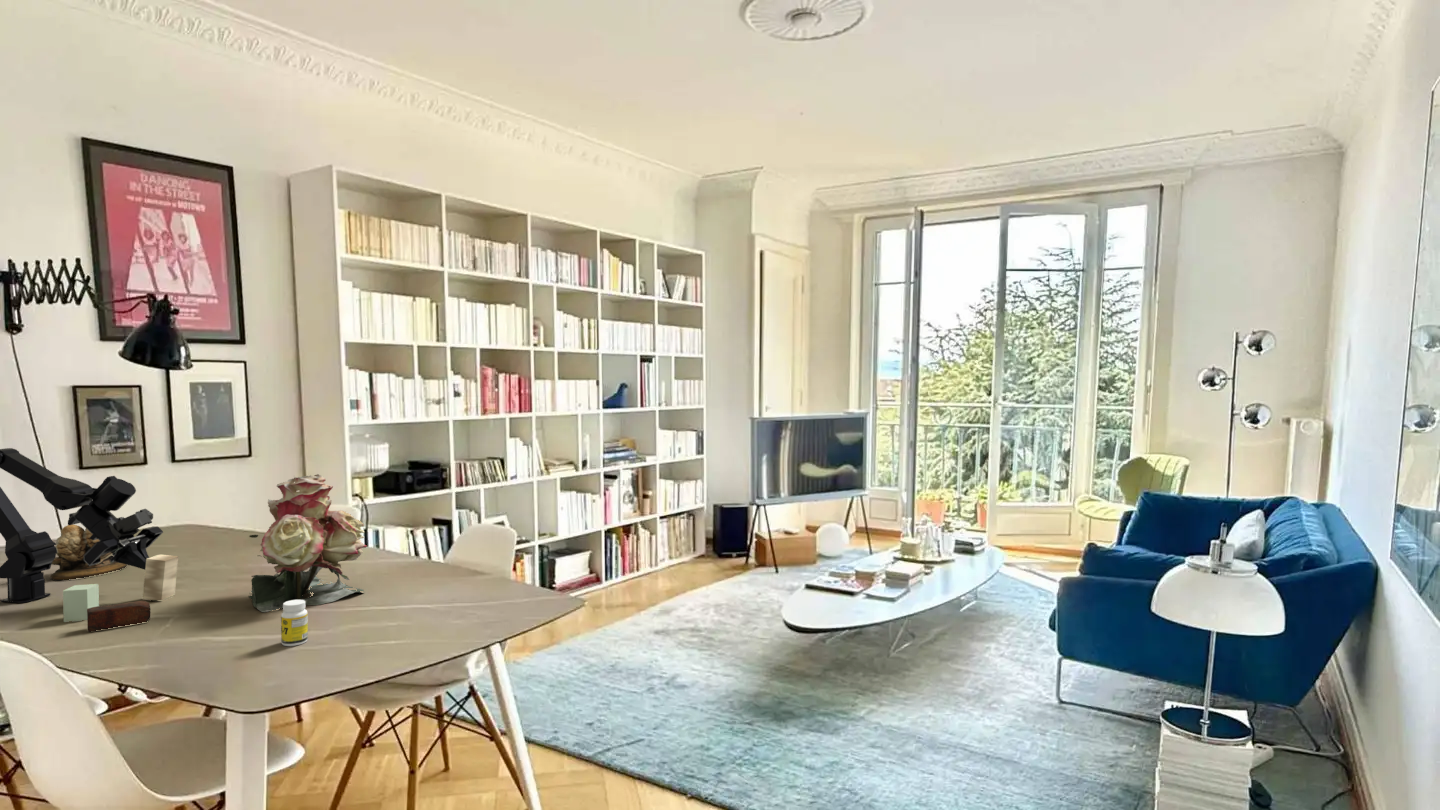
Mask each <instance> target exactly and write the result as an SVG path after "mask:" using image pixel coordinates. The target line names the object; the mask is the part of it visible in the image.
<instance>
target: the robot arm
mask: <svg viewBox="0 0 1440 810" xmlns="http://www.w3.org/2000/svg"><path fill="white" fill-rule="evenodd" d="M0 470H3V471H4V472H6V473H8V474H10V475H12V476H14V477H15V478H18V479H19V480H20V481H22V482H24V483H26V484H28V485H29V486H31V487H33V488H34V489H36V490H38V491H39V492H40V493H41V494H42V496H43V497H44V500H45V501H46V502H48V503H49V504H50V505H51V506H53V508H55V509H56V510H58V511H59V510H60V511H67V510H71V509H76V508H78V510H77V511H75V512H72V513H69V514H68V520H67V525H77V524H81V525H82V526H83V527H84V528H85V529H87V530H88V531H90V532H91V533H92V534H93V535H92V536H91V537H90V538H91V539H92V540H96V539H98V540H99V541H98V542H96V543H95V544H94V545H93V546H92V547H91V548H90V549H89V550H88V551H87V552H86V553H85V554H84V561H85V562H86V563H87V564H88V565H89V566H92V565H95V564H98V563H100V561H101V558H100V556H101V555H104V554H107V553H110V552H111V553H113V554H112V556H113V558H112V559H111V560H110V561H111V562H119V563H123V564H127V566H132V567H135V568H137V569H142V570H144V571H145V568H146V559H147V558H150V557H149V553H148V551H147V549H148V548H149V547H151V546H152V544H153V543H154V542H156V540H157V539H158V538H159V537H160V536H161V535H162V534H163V533H164V531H163V530H162V529H161V527H159V526H155V525H154V526H150V527H146V528H142V527H144V526H146V525H150V524H152V523H153V521H152V520H153V519H154V513H152V512H151V511H150V510H149V509H147V508H143V509H142V508H141V509H140V510H138V511H136V512H134V513H133V514H131V515H128V516H126V517H124V516H121V517H117V516H115V515H114V514H113V513H112V511H113V512H116V511H118V510H120V509H121V508H122V507H123V506H124V505H125V504H126V503H127V501H130V499H131V498H132V497H133V496H134V495H135V494H136V492H137V490H136V487H135V485H133V484H132V483H131V482H128V481H126V480H124V479H122V478H117V477H116V476H115V475H110V476H107V477H106V478H105V479H103V482H102V483H101V484H100V485H98V487H92V486H90V484H87V483H85V482H82V481H80V480H77V479H74V478H68V477H63V476H61V475H59V474H57V473H55V472H54V471H51V470H50V469H47V468H46V467H44V466H42V465H41V464H39V463H38V462H35V461H34V460H32V459H31V458H29V457H27V456H25V455H23V454H22V453H20V451H19V450H17V449H15V448H13V447H9V448H8V447H7V448H0ZM140 528H142V529H141V530H140ZM137 533H138V534H137ZM0 535H1V536H2V538H3V539H4V541H5V545H4V546H5V547H4V554H5V556H6V560H5V561H4V563H3V564H1V565H0V579H6V580H7V582H6V583H7V584H6V586H7V597H5V598H3V599H1V600H0V602H1V603H20V604H21V603H22V604H23V603H28V602H32V601H36V600H39V599H43V598H46V597H48V596H51V593H50V592H46V582H45V577H44V576H45V575H44V574H45V573H44V571H48V570H50V569H51V567H52V566H53V565H52V562H53V560H54V559H55V557H57V554H56V553H57V549H56V547H55V546H56V541H54V540H53V539H51V536H50V534H49V533H48V532H47V531H40V532H37V531H34V530H33V529H31V528H30V526H29V525H28V523H27V522H26V520H25V519H24V518H23V516H22V515H21V514H20V511H18V509H17V508H16V507H15V505H14V503H12V501H11V500H10V498H9V497H8V495H7V494H6V492H5V491H4V490H3V488H2V487H1V486H0ZM135 535H136V536H135Z"/></svg>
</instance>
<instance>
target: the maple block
mask: <svg viewBox="0 0 1440 810" xmlns="http://www.w3.org/2000/svg"><path fill="white" fill-rule="evenodd" d="M178 563H179V556H178V555H170V554H169V555H168V554H156V555H154V556H151V557H149V558H147V559H146V568H145V570H144V580H143V587H142V589H143V590H142V600H141V601H151V600H163V599H165V598H168V597H170V596H173V595H175V596H176V586H177V575H178V565H179V564H178Z"/></svg>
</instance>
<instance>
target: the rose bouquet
mask: <svg viewBox="0 0 1440 810" xmlns="http://www.w3.org/2000/svg"><path fill="white" fill-rule="evenodd" d="M325 482H326V478H325V477H324V476H322V475H321V474H318V473H317V474H315V475H311V474H310V475H304V476H300V477H299V476H298V477H296V476H295V475H293V478H290V479H288V480H287V481H283V482H280V483H278V484H277V485H276V487H277V489H279V490H280V492H281V495H282V497H281V498H280V499H276V500H275V499H273V500H272V499H268V500H267V504H268V505H267V507H268V509H269V513H270V514H271V515H272V517H273V518H274V522H273V523H271V524H270V526H269V527H268V528H267V530H266V532H265V533H264V535H263V537H262V539H261V543H260V546H261V549H259V552H262V555H260V554H259V555H258V554H257V557H262V558H264V559H265V560H266V562H267V564H271V565H275V566H274V567H273V568H274V572H275V574H274V575H271V574H254V575H251V581H250V582H251V590H250V591H251V592H252V593H251V595H252V596H251V595H250V596H249V595H248V598H249V599H250V600H251V599H252V600H251V604H252V606H253V607H254V608H256V609H257V610H258V611H259V612H261V613H269V611H272V610H276V609H279V608H281V609H282V608H283V603H284V602H287V601H291V600H304V601H305V606H307V605H308V606H319V605H324V604H328V603H332V602H335V601H338V600H340V599H342V598H344V597H347V596H349V595H352V594H354V593H357V594H360V593H361V592H360V591H364V592H365V590H364V589H362V588H358V587H355V588H356V589H357V591H356V590H349V589H346V588H353V586H350V585H347V584H346V583H345V584H343V583H342V581H341V577H342V578H343V579H344V580H347V581H350V578H349V577H348V576H347V575H346V574H343V569H342V564H341V563H339V562H351V561H356V560H357V559H358V558H359V557H361V556H362V554H363V553H364V551H363V549H365V548H367V546H368V545H366V544H364V543H362V540H361V539H364V538H365V536H364V535H362V534H365V531H364V530H363V529H362V527H364V526H365V524H364V523H363V522H362V521H361V520H359V519H357V518H355V517H354V516H353V515H352V514H350V513H349V512H347V511H344V510H330V509H329V508H330V507H331V505H332V500H331V498H330V497H331V496H330V495H329V493H330V492H331V490H333V487H334V486H333V485H331V484H326V483H325ZM248 537H249V538H251V539H252V538H258V537H259V535H258V534H250V535H249V536H248ZM322 569H328V570H329V571H330V572H331V573H334V574H335V575H336V576H337V580H336V582H330V583H331V584H328V583H326V584H323V585H317V584H319V583H320V581H321V578H318V577H317V575H318V573H319V572H320V571H321V570H322ZM340 576H341V577H340ZM322 581H324V580H323V579H322ZM320 584H321V583H320ZM310 586H311V587H312V588H311V587H310ZM309 587H310V590H309ZM343 588H344V589H343ZM310 592H311V593H312V592H313V593H314V594H313V596H311V597H309V596H308V597H309V598H307V597H306V599H305V598H304V597H303V596H305V595H307V594H309V593H310ZM302 595H303V596H302ZM281 609H280V610H281ZM282 610H283V609H282ZM272 612H273V611H272Z"/></svg>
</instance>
